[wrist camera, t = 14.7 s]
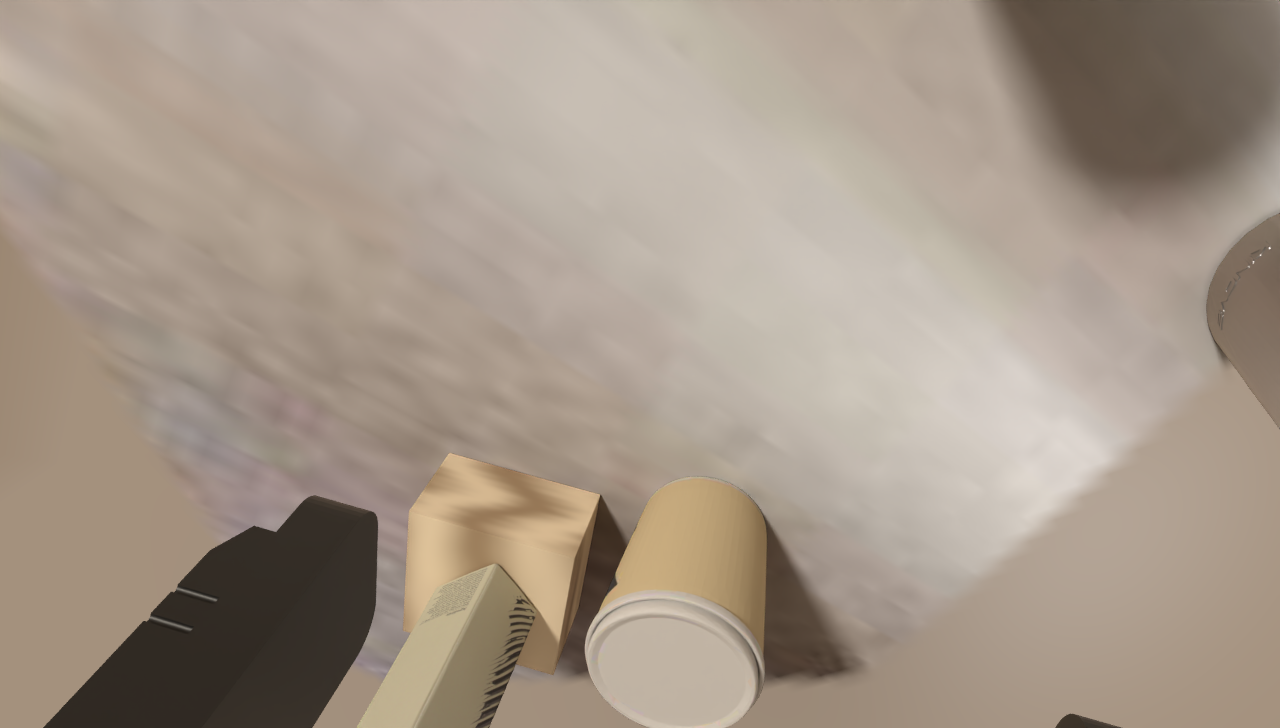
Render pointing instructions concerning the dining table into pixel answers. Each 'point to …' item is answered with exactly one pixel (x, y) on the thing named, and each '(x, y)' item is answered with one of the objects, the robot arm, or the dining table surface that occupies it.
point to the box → (456, 656)
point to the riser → (503, 544)
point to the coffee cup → (685, 611)
